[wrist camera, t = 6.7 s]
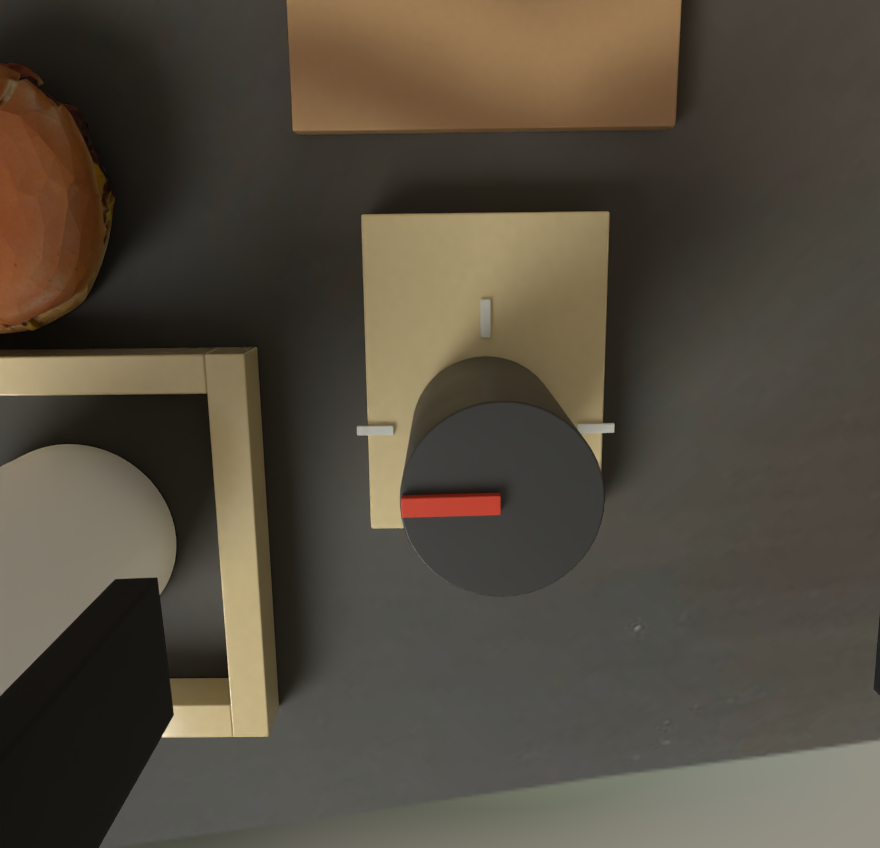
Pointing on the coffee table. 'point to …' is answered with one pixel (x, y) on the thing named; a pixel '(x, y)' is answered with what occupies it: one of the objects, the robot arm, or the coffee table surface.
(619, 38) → the trivet
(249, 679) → the square frame
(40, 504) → the cup
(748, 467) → the coffee table surface
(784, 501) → the coffee table surface
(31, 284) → the burger
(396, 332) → the panel
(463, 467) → the burner knob
